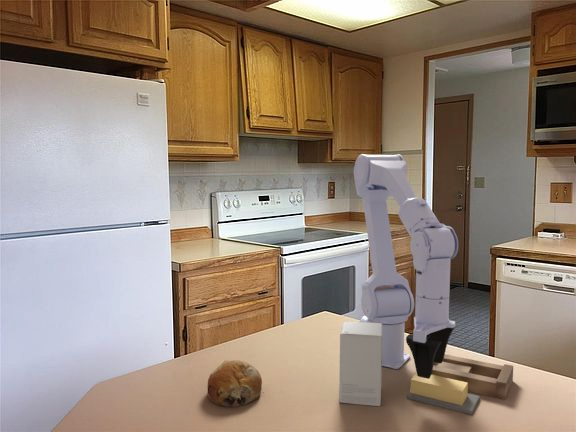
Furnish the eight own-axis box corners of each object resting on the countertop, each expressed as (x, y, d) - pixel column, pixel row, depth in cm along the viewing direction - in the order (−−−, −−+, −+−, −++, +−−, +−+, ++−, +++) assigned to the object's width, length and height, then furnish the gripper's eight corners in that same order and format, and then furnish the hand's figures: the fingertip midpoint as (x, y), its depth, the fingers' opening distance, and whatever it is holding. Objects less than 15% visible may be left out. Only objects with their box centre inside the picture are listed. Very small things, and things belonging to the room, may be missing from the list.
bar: (410, 392, 88) (410, 379, 88) (417, 384, 91) (417, 371, 91) (462, 405, 83) (462, 391, 83) (467, 396, 87) (467, 382, 86)
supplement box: (381, 407, 84) (382, 335, 83) (338, 403, 86) (338, 333, 84) (381, 388, 91) (382, 322, 90) (342, 384, 93) (342, 320, 92)
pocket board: (420, 380, 95) (420, 365, 94) (433, 364, 102) (433, 350, 102) (505, 399, 87) (506, 383, 86) (512, 380, 94) (513, 365, 94)
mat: (407, 398, 87) (407, 395, 87) (418, 384, 93) (418, 381, 93) (471, 414, 81) (471, 411, 81) (479, 399, 87) (479, 396, 87)
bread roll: (266, 409, 91) (272, 365, 93) (246, 410, 82) (253, 361, 84) (218, 401, 94) (225, 358, 97) (193, 401, 85) (202, 354, 87)
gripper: (444, 308, 78) (442, 390, 80) (465, 289, 90) (462, 360, 92) (401, 302, 82) (400, 380, 83) (427, 284, 94) (425, 352, 96)
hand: (430, 369), depth 88 cm, fingers open, 7 cm apart
